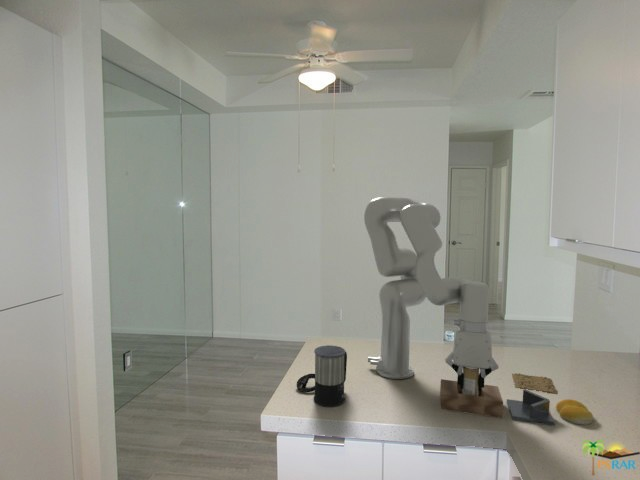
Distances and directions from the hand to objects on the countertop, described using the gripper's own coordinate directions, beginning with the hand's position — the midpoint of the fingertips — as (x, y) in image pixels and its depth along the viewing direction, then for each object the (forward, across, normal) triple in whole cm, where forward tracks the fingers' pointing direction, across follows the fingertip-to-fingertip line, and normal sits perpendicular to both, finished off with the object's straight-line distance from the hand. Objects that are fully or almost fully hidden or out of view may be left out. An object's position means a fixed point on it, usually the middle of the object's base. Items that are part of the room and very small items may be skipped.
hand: (470, 387), depth 116 cm
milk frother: (+5, -43, -7) cm, 44 cm away
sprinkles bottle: (+5, 0, 0) cm, 5 cm away
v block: (+5, +15, 0) cm, 16 cm away
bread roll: (+6, +27, +2) cm, 28 cm away
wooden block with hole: (+5, 0, 0) cm, 5 cm away
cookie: (+6, +21, +22) cm, 31 cm away
